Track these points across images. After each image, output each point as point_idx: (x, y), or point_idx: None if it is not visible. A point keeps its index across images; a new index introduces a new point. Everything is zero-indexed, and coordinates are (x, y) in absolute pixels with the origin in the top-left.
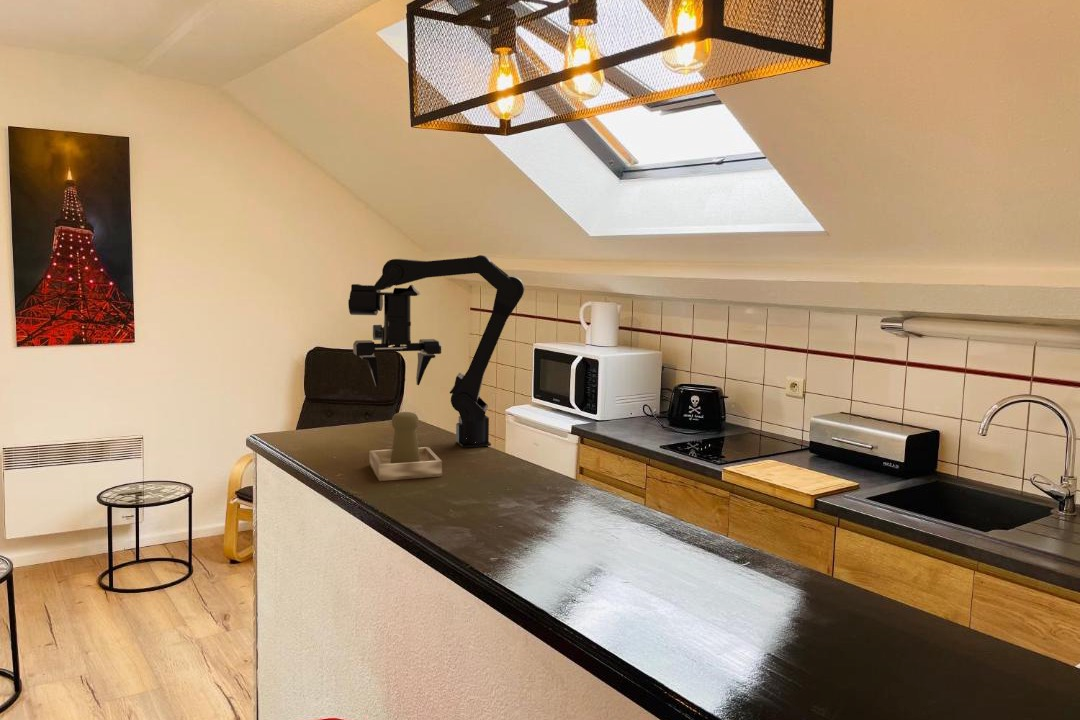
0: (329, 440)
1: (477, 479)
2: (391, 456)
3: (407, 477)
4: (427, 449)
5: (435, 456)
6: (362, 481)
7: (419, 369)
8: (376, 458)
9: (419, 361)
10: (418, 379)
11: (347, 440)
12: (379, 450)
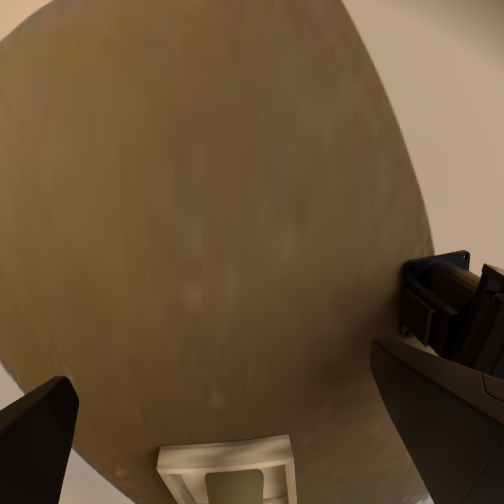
0: (17, 192)
1: (341, 496)
2: (207, 495)
3: None
4: (287, 471)
5: (292, 499)
6: (165, 499)
7: (429, 468)
8: (180, 502)
9: (483, 492)
10: (389, 408)
11: (60, 195)
12: (178, 470)
